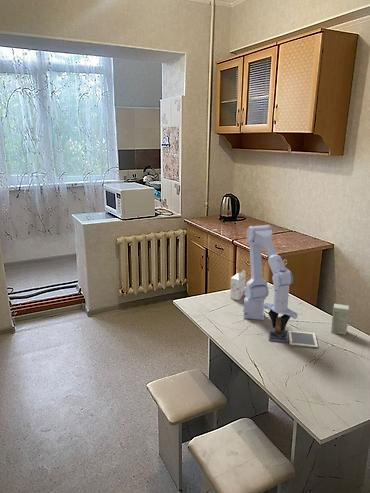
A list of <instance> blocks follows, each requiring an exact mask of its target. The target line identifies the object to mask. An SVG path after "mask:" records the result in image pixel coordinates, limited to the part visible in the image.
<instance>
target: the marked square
mask: <svg viewBox="0 0 370 493" xmlns="http://www.w3.org/2000/svg"><path fill="white" fill-rule="evenodd" d="M287 332H288V343H289V346H291V347H292V346H293V347H303V348H312V349H318V348H319V345H318V341H317V337H316V333H315V332H309V331H308V332H307V331H297V330H287Z"/></svg>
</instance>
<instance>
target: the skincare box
mask: <svg viewBox="0 0 370 493" xmlns="http://www.w3.org/2000/svg"><path fill="white" fill-rule="evenodd" d="M332 308H333V309H332V317H331V328H330V329H331V330H330V332H331V333H332V334H339V335H343V336H347V332H348V322H349V314H350V305H345V304H341V303H334V304H333V307H332Z"/></svg>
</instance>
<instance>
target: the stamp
mask: <svg viewBox="0 0 370 493" xmlns="http://www.w3.org/2000/svg"><path fill="white" fill-rule="evenodd" d="M280 317H281V316H278V317H277V318H276V325H275V328H273V329H271V330H272V331H271V334H272V335H275V336H277V337H280V338H282V337H283V336H284V335H286V334H287V332H288V330H286V329H285V330H283V331H281V318H280Z"/></svg>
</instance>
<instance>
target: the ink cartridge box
mask: <svg viewBox="0 0 370 493" xmlns="http://www.w3.org/2000/svg"><path fill="white" fill-rule="evenodd" d="M245 288H246V270H245V269H243V270H242V271H241V272H238V273H237V272H236V274H235V275H233V276H231V277H230V299H231V300H236V301H240V300H241V299H242V298H243V297H244V296H246V295H245Z"/></svg>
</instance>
